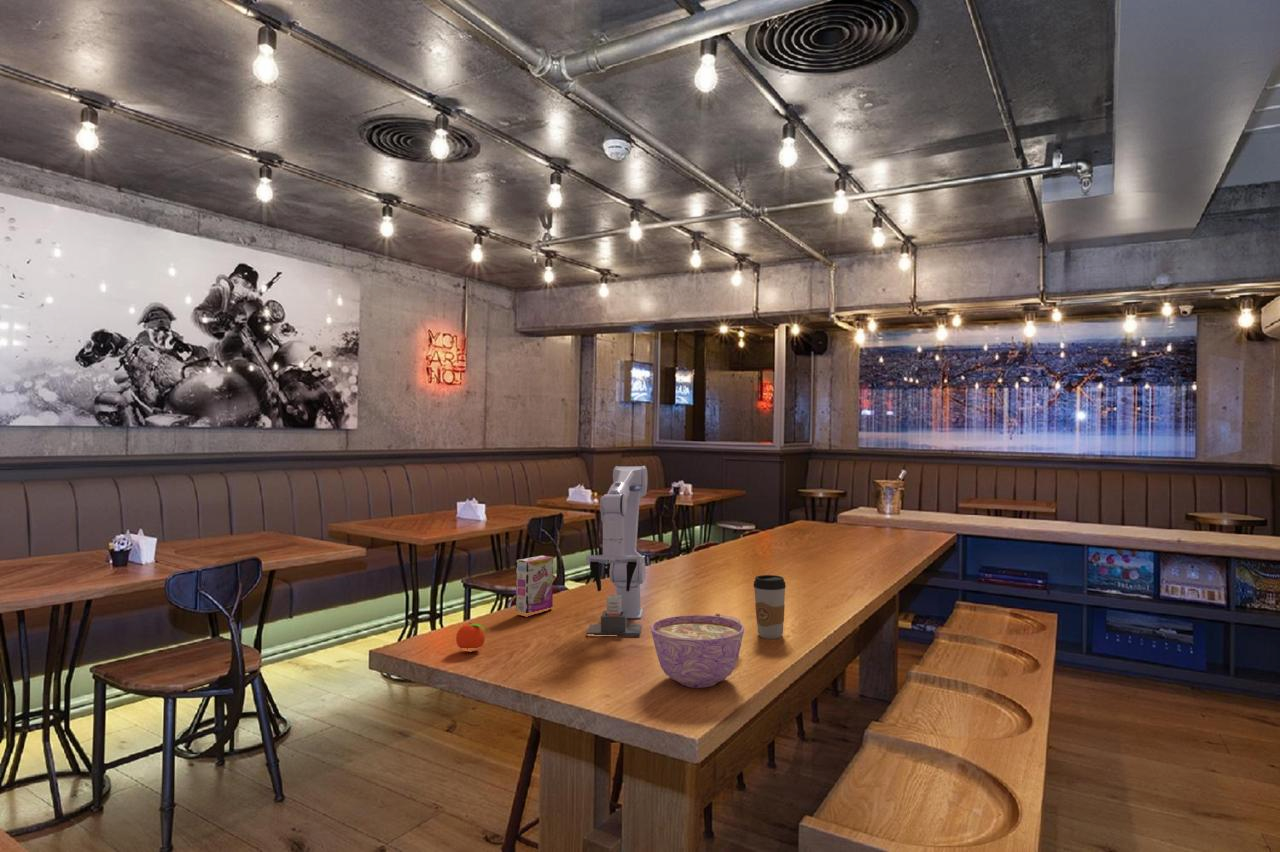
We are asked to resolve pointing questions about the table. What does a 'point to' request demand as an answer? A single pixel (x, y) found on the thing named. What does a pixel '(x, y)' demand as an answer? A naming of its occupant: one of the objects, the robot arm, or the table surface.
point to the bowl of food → (697, 648)
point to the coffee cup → (769, 605)
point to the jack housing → (615, 626)
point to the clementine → (470, 636)
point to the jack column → (614, 605)
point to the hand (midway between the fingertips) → (613, 590)
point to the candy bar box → (534, 584)
